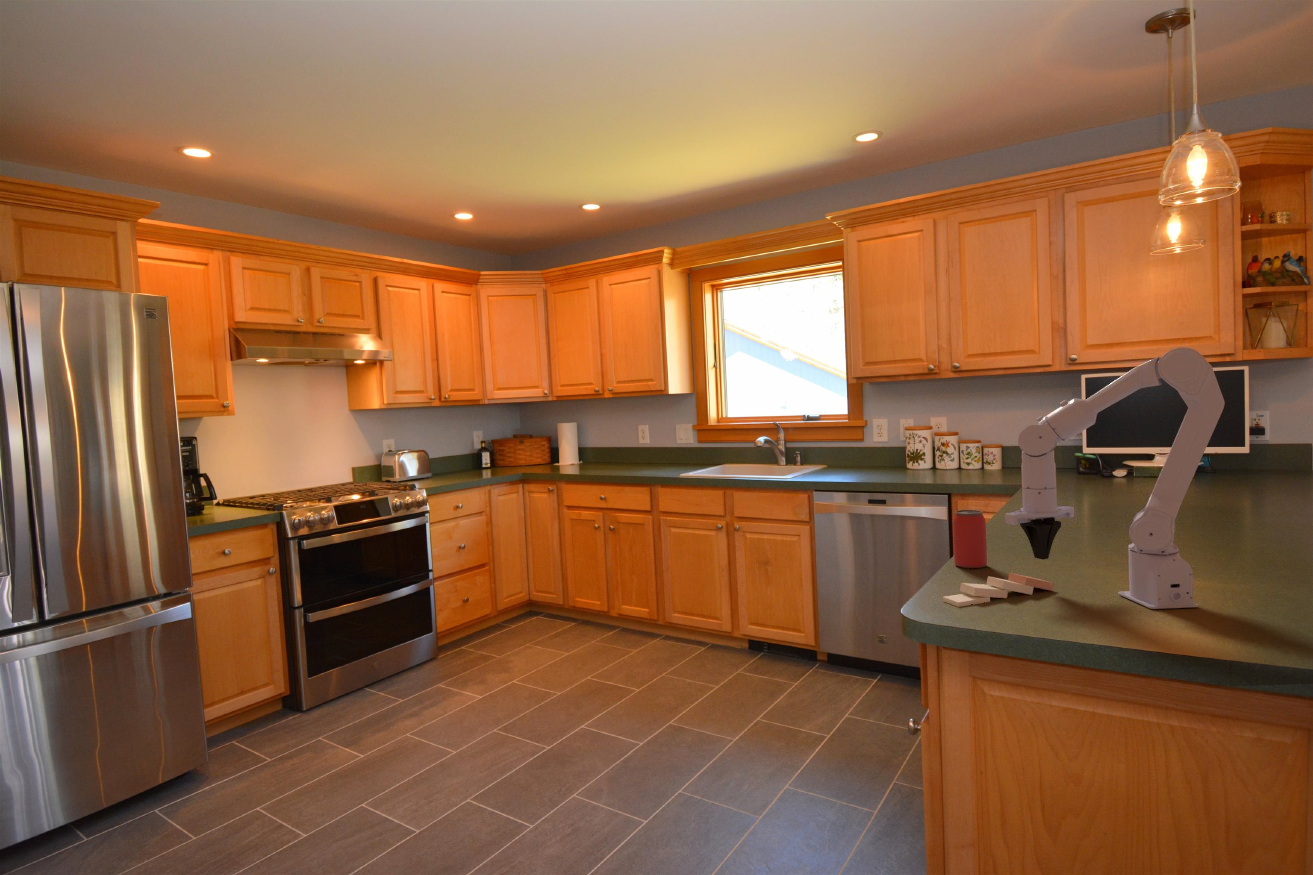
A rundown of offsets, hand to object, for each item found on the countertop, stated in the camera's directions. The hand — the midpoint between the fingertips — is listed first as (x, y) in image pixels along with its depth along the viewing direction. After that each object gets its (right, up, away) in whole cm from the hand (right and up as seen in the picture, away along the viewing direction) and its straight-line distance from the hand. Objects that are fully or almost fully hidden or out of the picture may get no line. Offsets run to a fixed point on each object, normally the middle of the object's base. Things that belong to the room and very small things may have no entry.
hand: (1041, 558), depth 134 cm
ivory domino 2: (-9, -6, -2) cm, 11 cm away
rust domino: (+1, -5, +1) cm, 5 cm away
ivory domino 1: (-13, -7, -4) cm, 15 cm away
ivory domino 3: (-4, -6, -1) cm, 7 cm away
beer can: (-4, -5, +21) cm, 22 cm away
